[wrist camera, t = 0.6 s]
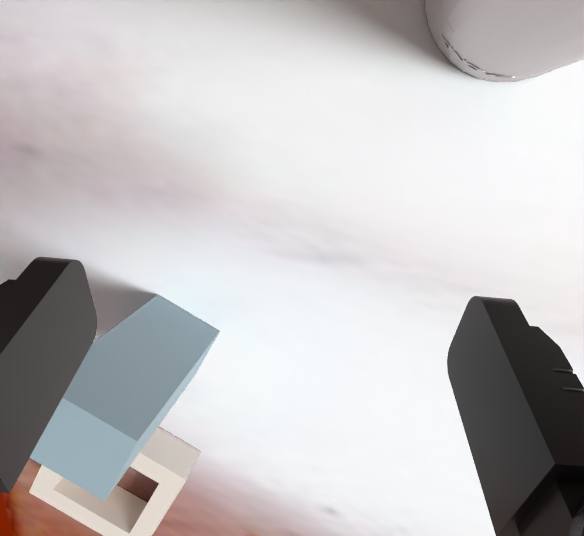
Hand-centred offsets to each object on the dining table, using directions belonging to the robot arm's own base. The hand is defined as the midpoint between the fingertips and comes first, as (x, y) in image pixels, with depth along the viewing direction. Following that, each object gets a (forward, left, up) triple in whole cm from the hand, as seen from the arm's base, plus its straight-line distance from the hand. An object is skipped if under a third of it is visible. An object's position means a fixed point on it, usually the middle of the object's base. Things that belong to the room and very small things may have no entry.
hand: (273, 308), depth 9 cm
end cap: (+26, -3, -19) cm, 32 cm away
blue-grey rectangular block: (+14, -4, -19) cm, 24 cm away
